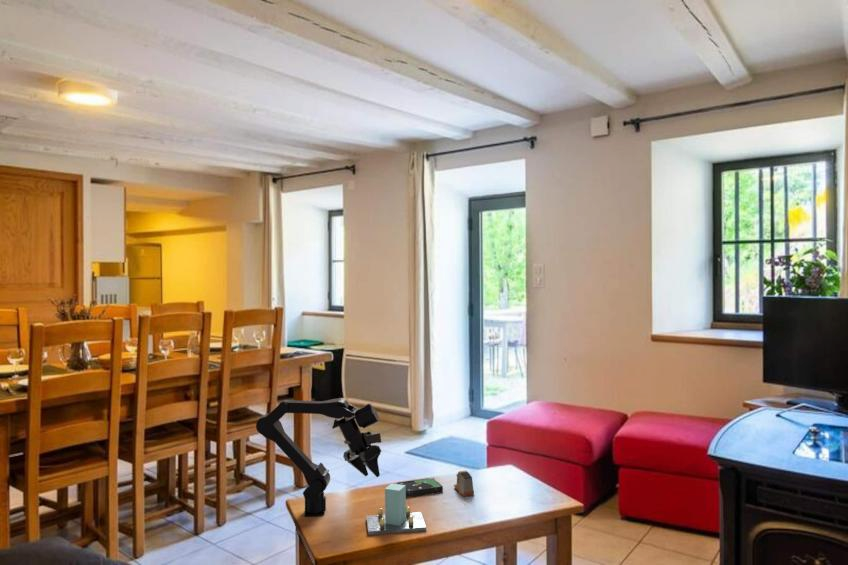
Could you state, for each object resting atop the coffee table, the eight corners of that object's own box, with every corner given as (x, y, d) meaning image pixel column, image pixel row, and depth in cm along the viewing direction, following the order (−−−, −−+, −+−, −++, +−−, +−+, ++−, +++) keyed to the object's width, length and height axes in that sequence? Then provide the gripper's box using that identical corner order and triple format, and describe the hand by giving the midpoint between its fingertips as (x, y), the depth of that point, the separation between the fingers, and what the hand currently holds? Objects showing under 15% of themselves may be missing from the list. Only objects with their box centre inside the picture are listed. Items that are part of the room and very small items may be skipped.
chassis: (368, 535, 176) (368, 522, 176) (366, 519, 188) (366, 507, 188) (426, 531, 179) (426, 518, 179) (420, 515, 191) (420, 503, 191)
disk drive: (405, 499, 207) (443, 493, 212) (405, 491, 207) (443, 485, 212) (396, 489, 216) (433, 484, 222) (396, 482, 216) (433, 476, 222)
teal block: (385, 523, 182) (384, 488, 182) (391, 517, 187) (391, 483, 187) (399, 525, 180) (399, 490, 180) (405, 519, 185) (405, 485, 185)
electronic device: (464, 486, 218) (463, 466, 217) (474, 495, 208) (474, 475, 208) (453, 488, 216) (453, 468, 216) (463, 497, 207) (463, 476, 207)
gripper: (383, 420, 190) (404, 463, 190) (360, 423, 206) (379, 462, 206) (355, 438, 184) (377, 482, 184) (334, 439, 200) (354, 480, 200)
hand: (372, 476), depth 193 cm, fingers open, 9 cm apart
